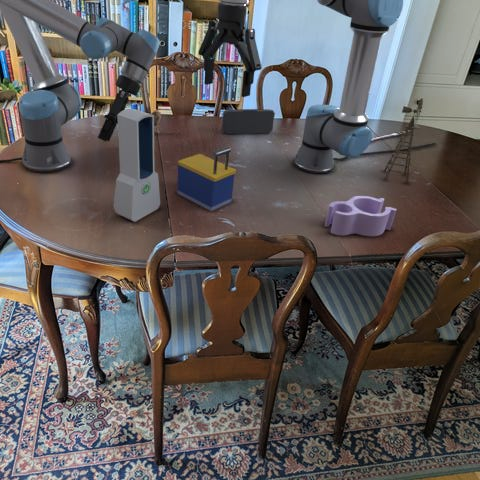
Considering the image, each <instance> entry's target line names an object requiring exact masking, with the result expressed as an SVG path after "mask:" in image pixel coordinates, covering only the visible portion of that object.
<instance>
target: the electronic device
mask: <svg viewBox="0 0 480 480" xmlns="http://www.w3.org/2000/svg"><path fill="white" fill-rule="evenodd" d="M151 114H152V113H148V112H145V111H141V110H139V109H135V108H131V107H129V108H124V110H123V111H121V112H120V113H119V114H118V115H117V118H118V124H117V134H118V137H117V139H118V154H119V155H118V156H119V174H118V176H117V177H116V180H115V190H114V198H113V205H112V206H113V209H114V212H115V213H116V214H117V215H118V216H120V217H123V218H124V219H127V220H129V221H131V222H133V223H136V222H137V221H139V220H141V219H142V218H145V217H146V216H148V215H150V214H151V213H153V212H155V211H157V210H158V209H159V208H160V206H161V193H160V181H159V179H160V178H159V174H158V172H157V171H155V126H154V115H151Z"/></svg>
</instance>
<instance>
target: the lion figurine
mask: <svg viewBox="0 0 480 480" xmlns="http://www.w3.org/2000/svg"><path fill="white" fill-rule="evenodd" d="M150 114H151V115H154V127H157V126H158V125H159V124H160V122H161V120H162V114H161V112H160V111H158V110H153V111H152V113H150Z"/></svg>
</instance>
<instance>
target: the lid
mask: <svg viewBox="0 0 480 480" xmlns="http://www.w3.org/2000/svg"><path fill="white" fill-rule="evenodd" d="M231 151H232V148H231V147H229V146H226V147H224V148H221V149H218V150H215V151H213V152H212V156H213V158H210V157H208V156H206V155H204V154H202V153H197V154H194V155H191V156H189V157H186V158H183V159H180V160H177V166H178V165H180V166H182V167H184V168H187V169H189V170H191V171H193V172H195V173H197V174H199V175H201V176H203V177H205V178H208V179H210V180H212V181H214V182H216V181H218V180H220V179H223V178H225V177H228V176H230V175H233V174H234V175H235V174H236V173H237V169H235V168H233V167H231V166H229V161H230V160H229V158H230V153H231ZM224 155H225V160H224V163H223V162H220V161H218V157H221V156H224Z"/></svg>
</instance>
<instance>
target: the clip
mask: <svg viewBox="0 0 480 480" xmlns="http://www.w3.org/2000/svg"><path fill="white" fill-rule="evenodd" d="M384 201H385V198H383V197H379V198H376V197H373V196H368V195H357V196H352V197H350V198H349V200H347V201H339V200H338V201H337V200H335V201H332V202H330V203H329V205H328V208H327V214H326V218H325V222H324V227H326V228H329V227H330V226H331V227H330V233H331V234H333V235H336V236H348V235H353V234H356V235H360V236H364V237H365V236H366V237H378V236H381V235H382V234H384V232H385V230H387V231H391V229H392V226H393V222H394V219H395V216H396V213H397V210H398V209H397V208H395V207H391V206H385V207H384V211H383V212H382V209H383V206H384Z"/></svg>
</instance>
